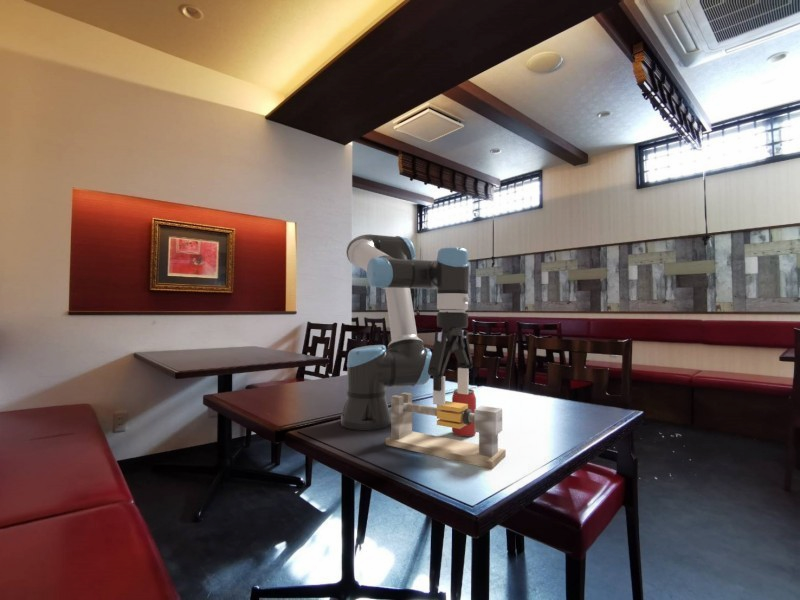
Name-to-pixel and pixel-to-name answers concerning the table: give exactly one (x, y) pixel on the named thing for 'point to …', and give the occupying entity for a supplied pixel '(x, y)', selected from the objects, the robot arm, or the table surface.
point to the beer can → (471, 401)
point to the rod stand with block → (476, 454)
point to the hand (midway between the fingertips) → (451, 398)
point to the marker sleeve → (451, 414)
